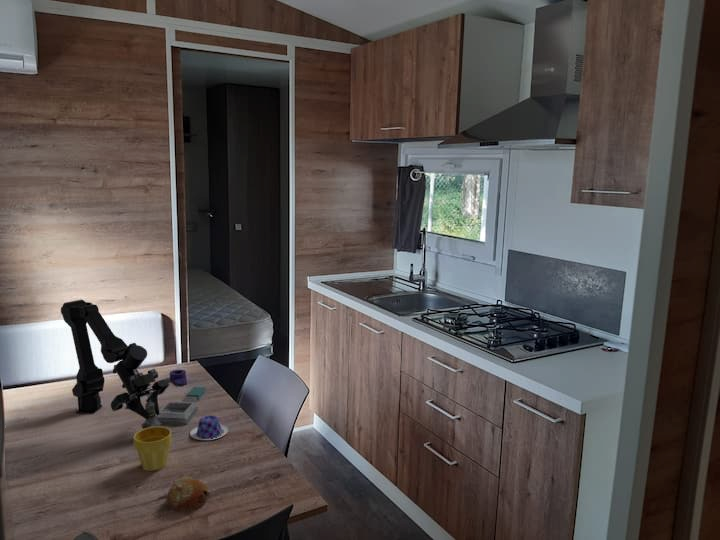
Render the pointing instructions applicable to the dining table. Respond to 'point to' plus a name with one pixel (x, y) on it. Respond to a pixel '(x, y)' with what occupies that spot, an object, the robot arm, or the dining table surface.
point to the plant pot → (153, 446)
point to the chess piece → (150, 416)
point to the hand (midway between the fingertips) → (153, 416)
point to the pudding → (208, 428)
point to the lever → (178, 377)
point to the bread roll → (187, 494)
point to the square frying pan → (181, 408)
